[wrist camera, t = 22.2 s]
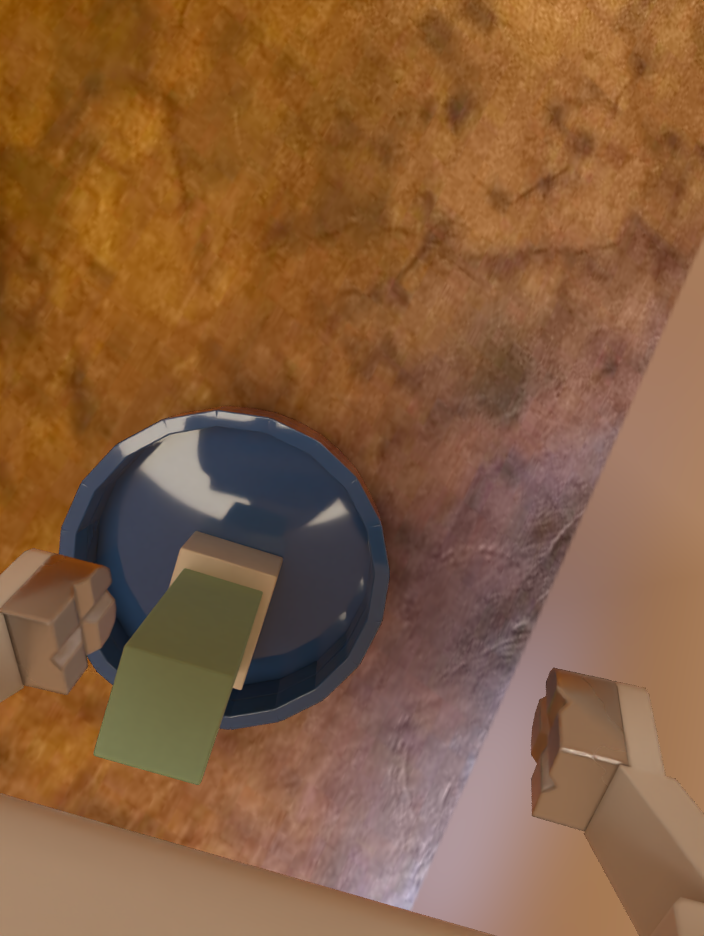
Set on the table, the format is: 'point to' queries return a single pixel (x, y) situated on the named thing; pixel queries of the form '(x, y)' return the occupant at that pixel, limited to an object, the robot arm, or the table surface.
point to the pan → (242, 543)
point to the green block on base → (188, 659)
